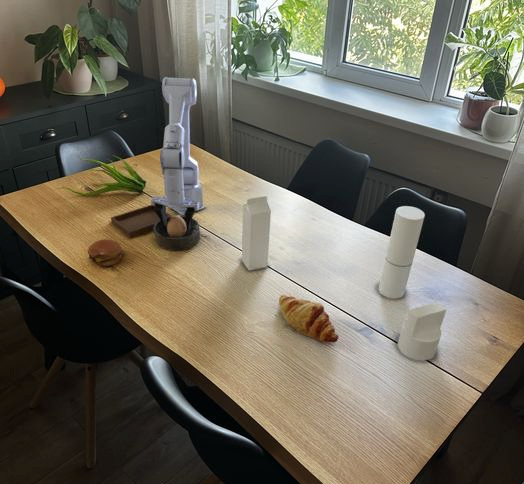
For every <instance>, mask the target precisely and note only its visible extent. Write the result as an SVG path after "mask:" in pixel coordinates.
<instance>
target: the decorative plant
mask: <svg viewBox="0 0 524 484" xmlns="http://www.w3.org/2000/svg"><path fill="white" fill-rule="evenodd" d="M77 157H78V158H79V159H80V160H82V161H85V162H92V163H94V164H99V165H100V166H102V168H104V169H94V168H87V170H88V171H89V170H90V171H94V172H101V173H102V172H103V173H104V174H106V175H108V176H109V177H111V178H112V179H113V180H114V181H116V182H102V183H100V184H96V183H94V182H93V181H90V183H91V184H93V185H95V186H99V187H101V186H104V187H102V188H99V189H97V190H91V191H88V192H80V191H76V190H74V189H72V188H70V187H64V186H62V187H57V188H53V191H55V190H59V189H66V190H69V191H71V192H72V193H74V194H77V195H81V196H98V195H102V194H106V193H110V192H116V191H127V192H129V193H137V194H140V195H142V194H143V192H144V189H145V188H146V185H147V181H146V180H145V179H143V178H142V177H141V176H140V175H139V174H138V172H137V171H136V170H134V169H133V168H132V167H131V166H130V165H129V163H127V162H126V161H125V160H124V159H122V158H121V157H120V156H119V157H118V156H116V155H114V157H115V158H117V159H118V160H120V161H121V162H123V165H124V166H125V167H124V166H121V165H119V167H120V168H123V169H124V170H126V171H127V172H128V174H129V175H127V174H124V173H123V172H121V171H120V170H119V169H117V167H116V165H115V163H114V162H113V161H112V160H110V159H109V158H105V159H106V160H108V161H110V162H111V163H112V164H113V165H110V164H108V163H105V162H101V161H100V160H99V161H98V160H95V159H89V158H87V157H85V159H83V158H82V157H80V156H78V155H77ZM81 169H84V170H85V168H84V167H82V168H81ZM105 169H106V170H105Z"/></svg>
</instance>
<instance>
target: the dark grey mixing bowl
mask: <svg viewBox="0 0 524 484" xmlns="http://www.w3.org/2000/svg"><path fill="white" fill-rule="evenodd" d="M170 216H171V217H172V216H173V215H170ZM179 216H180V217H182V219H183V220H184V221H185V223H186V217H185V215H179ZM171 217H167V224H168V221H169V220H170V218H171ZM200 225H201V224H200V223H199V222H198V221H197V220H196V219H195V218H192V221H191V227H190V229H189V230H187V229H186V233H185V235H184V236H183V237H182V238H172V237H171V236H170V235H169V234H168V231H167V225H166V226H165V227H163V226H162V223H161V221H160V220H159V221H157V222H156V224H155V225H154V228H153V230H152V231H153V240H154V242H155V244H156V245H157V246H158V247H160V248H161V249H164V250H169V251H182V250H187V249H190V248H193V247H194V246H196V245H197V244H198V243H199V242H200V240H201V229H200V227H201V226H200Z"/></svg>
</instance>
